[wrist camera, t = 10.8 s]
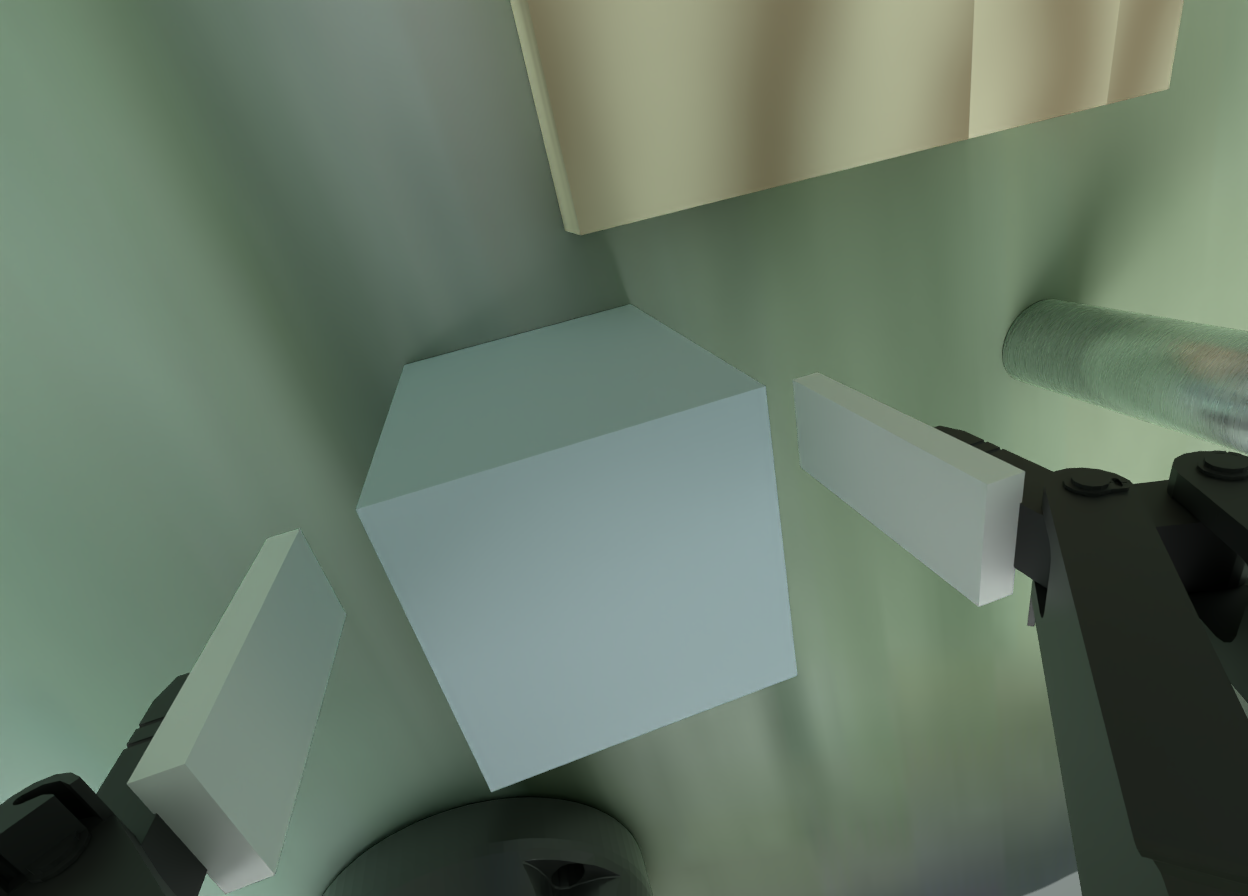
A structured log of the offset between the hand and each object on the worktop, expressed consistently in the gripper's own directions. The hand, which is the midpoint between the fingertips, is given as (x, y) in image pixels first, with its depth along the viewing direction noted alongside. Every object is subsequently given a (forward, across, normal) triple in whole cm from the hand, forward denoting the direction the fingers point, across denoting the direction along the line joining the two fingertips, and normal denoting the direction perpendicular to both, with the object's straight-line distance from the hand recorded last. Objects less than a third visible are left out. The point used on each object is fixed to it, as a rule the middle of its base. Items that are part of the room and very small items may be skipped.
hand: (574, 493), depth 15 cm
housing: (+4, 0, 0) cm, 4 cm away
